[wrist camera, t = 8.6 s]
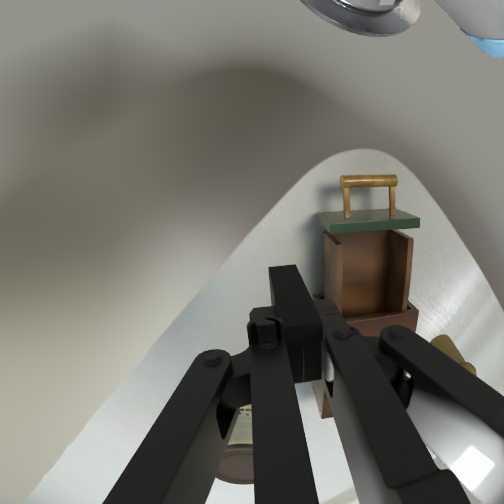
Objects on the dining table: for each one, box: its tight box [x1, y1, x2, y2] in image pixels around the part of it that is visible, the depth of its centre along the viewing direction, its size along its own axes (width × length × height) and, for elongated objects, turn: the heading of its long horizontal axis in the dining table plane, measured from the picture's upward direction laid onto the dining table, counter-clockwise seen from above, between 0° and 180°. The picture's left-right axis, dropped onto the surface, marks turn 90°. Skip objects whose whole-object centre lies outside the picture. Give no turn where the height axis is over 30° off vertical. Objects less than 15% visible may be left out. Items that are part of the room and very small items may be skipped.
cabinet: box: [312, 294, 419, 419], centre depth 42 cm, size 17×13×9 cm
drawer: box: [317, 175, 420, 319], centre depth 37 cm, size 20×11×7 cm, turn 5°
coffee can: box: [216, 404, 254, 484], centre depth 42 cm, size 10×10×14 cm
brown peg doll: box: [430, 335, 476, 376], centre depth 42 cm, size 6×6×11 cm
